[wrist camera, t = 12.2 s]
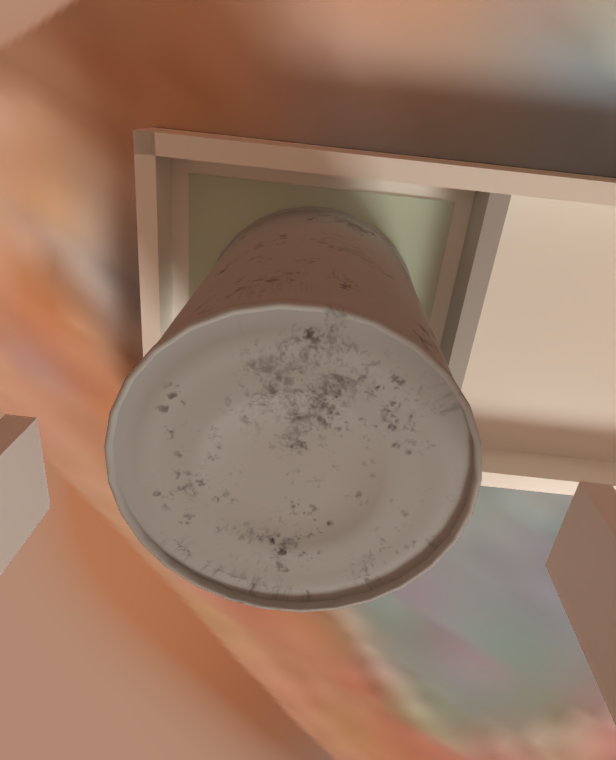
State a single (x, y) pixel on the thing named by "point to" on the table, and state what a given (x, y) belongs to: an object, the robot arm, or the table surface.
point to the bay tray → (427, 275)
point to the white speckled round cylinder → (297, 424)
